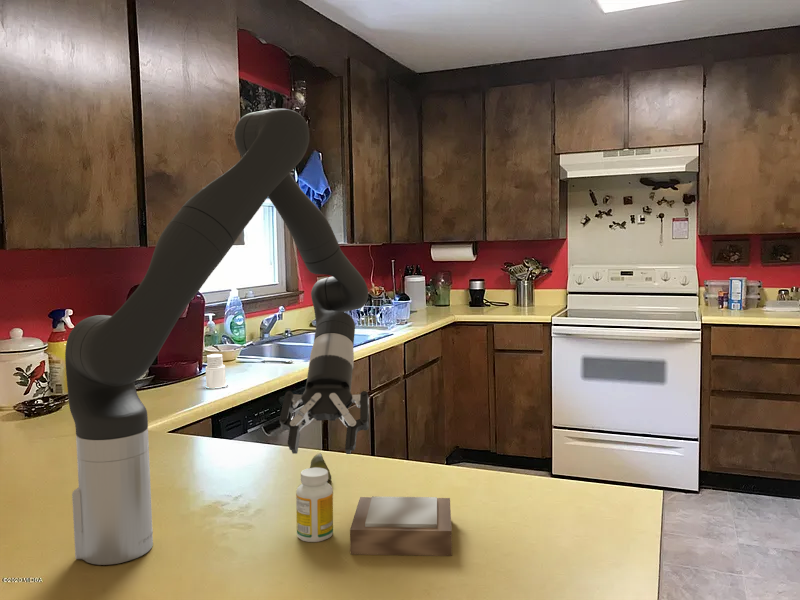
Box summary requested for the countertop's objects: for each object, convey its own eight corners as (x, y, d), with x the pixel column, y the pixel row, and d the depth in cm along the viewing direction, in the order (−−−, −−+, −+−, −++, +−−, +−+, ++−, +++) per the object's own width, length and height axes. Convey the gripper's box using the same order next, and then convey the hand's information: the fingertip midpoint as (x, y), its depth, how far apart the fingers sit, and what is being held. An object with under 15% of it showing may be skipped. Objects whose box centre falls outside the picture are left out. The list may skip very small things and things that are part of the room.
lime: (320, 474, 124) (319, 448, 124) (340, 479, 122) (339, 452, 121) (303, 481, 121) (303, 454, 120) (323, 486, 118) (323, 459, 118)
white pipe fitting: (211, 383, 209) (209, 352, 208) (232, 384, 208) (230, 352, 207) (200, 390, 201) (198, 358, 200) (222, 390, 200) (220, 358, 199)
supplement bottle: (295, 544, 95) (294, 478, 94) (297, 528, 101) (296, 466, 100) (333, 542, 96) (332, 477, 95) (333, 526, 101) (332, 465, 100)
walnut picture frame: (350, 554, 92) (349, 526, 92) (360, 518, 104) (359, 493, 103) (451, 555, 91) (451, 527, 91) (450, 519, 103) (449, 494, 103)
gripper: (286, 353, 112) (271, 439, 101) (370, 353, 111) (364, 440, 100) (293, 378, 117) (280, 462, 107) (373, 378, 117) (368, 463, 106)
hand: (321, 451), depth 104 cm, fingers open, 8 cm apart
